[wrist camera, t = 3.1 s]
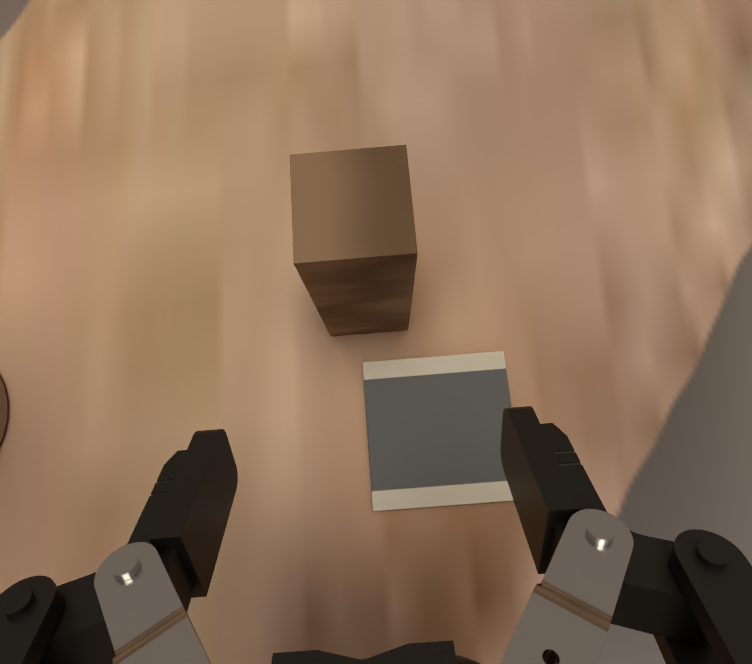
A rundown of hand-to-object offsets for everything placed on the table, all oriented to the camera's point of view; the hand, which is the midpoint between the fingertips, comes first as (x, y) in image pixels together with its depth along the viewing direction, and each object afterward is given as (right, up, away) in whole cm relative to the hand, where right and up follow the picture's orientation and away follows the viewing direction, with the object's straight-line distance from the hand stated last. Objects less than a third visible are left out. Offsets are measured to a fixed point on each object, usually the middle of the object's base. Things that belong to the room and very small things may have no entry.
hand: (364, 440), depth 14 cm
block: (0, +5, +15) cm, 16 cm away
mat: (+4, -2, +13) cm, 13 cm away
